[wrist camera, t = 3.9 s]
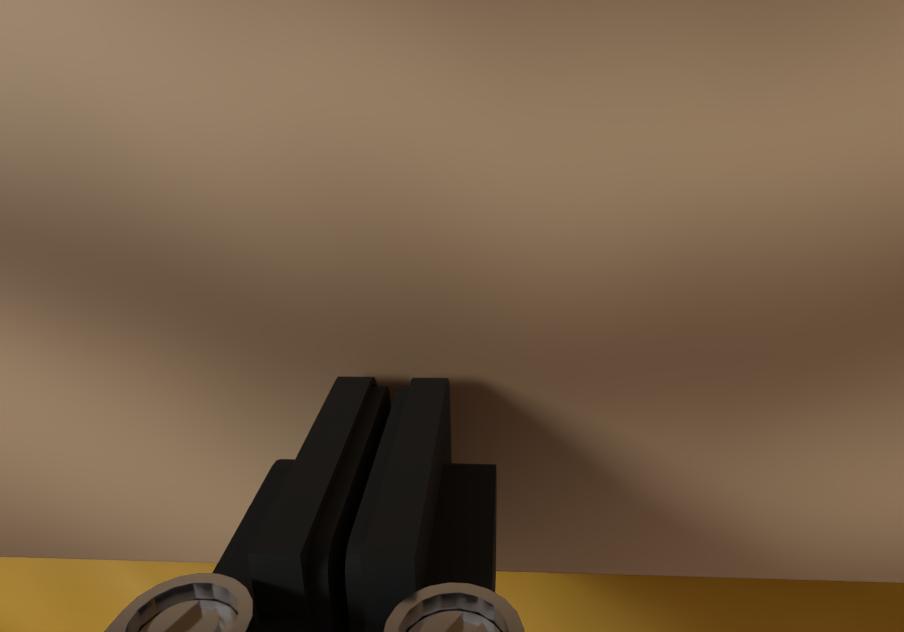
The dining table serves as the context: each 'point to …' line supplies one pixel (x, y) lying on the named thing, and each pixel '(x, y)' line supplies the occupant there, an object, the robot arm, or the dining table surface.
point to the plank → (461, 268)
